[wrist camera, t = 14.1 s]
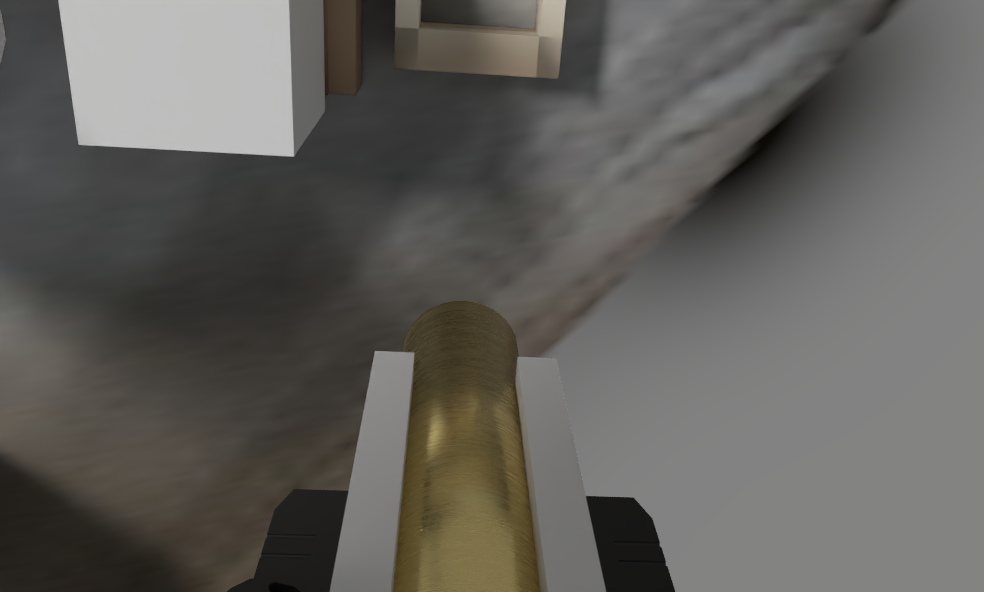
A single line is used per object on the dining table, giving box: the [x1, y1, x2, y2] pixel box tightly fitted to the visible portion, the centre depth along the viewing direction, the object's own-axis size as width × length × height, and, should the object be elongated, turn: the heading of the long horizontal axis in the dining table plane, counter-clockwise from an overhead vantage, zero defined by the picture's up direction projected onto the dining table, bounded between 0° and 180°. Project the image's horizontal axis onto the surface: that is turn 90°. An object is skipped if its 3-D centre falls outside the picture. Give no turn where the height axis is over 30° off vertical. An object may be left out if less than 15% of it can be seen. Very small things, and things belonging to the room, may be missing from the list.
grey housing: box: [58, 0, 325, 157], centre depth 25 cm, size 7×6×6 cm
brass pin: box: [393, 301, 540, 592], centre depth 15 cm, size 3×3×10 cm
